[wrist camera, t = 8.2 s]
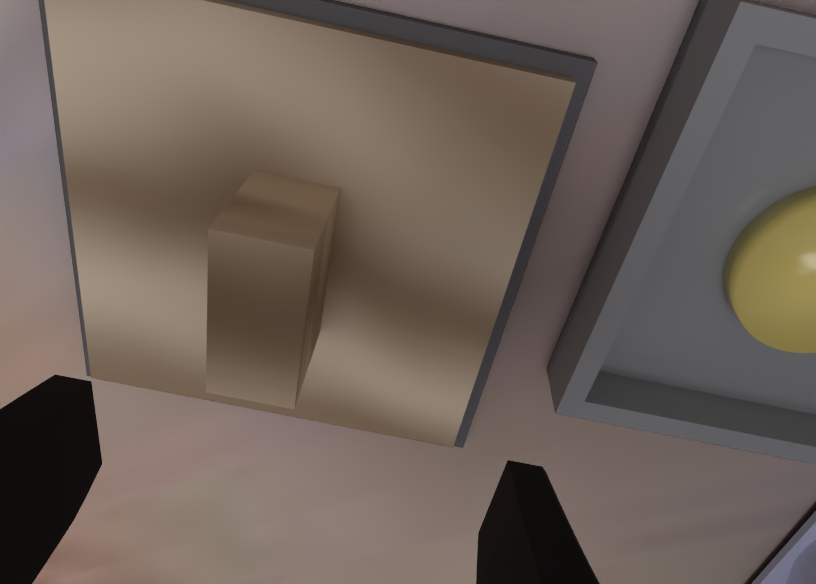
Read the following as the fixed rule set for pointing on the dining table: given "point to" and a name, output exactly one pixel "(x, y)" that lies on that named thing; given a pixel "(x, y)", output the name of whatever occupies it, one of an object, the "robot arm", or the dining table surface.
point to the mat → (320, 6)
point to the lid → (294, 206)
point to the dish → (711, 250)
